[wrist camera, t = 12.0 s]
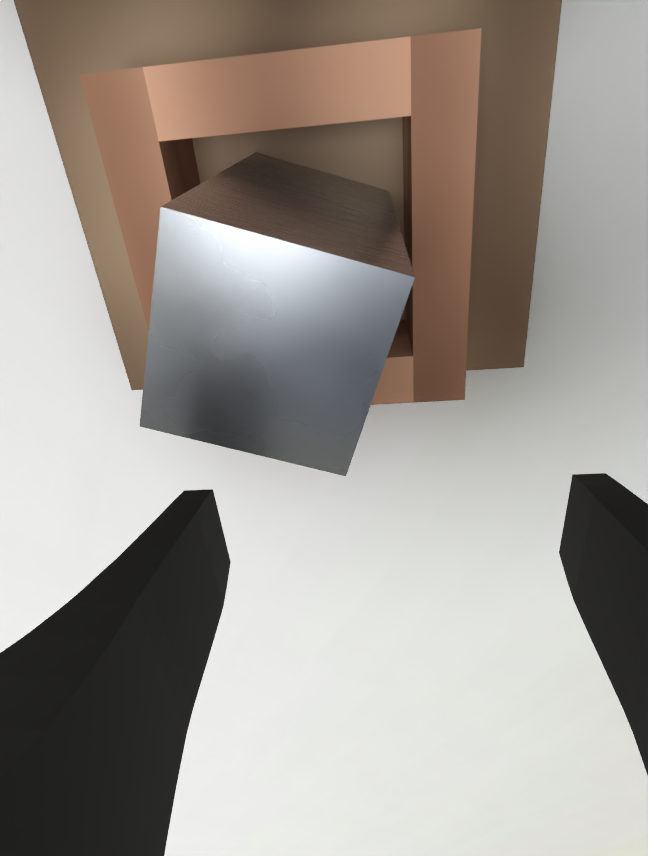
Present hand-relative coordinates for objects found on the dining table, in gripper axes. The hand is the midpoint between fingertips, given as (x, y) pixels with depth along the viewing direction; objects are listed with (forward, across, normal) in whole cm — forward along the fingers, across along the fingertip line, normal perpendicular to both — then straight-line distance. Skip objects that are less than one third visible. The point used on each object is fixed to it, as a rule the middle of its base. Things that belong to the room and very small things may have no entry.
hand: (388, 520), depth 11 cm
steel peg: (+9, +2, -4) cm, 10 cm away
